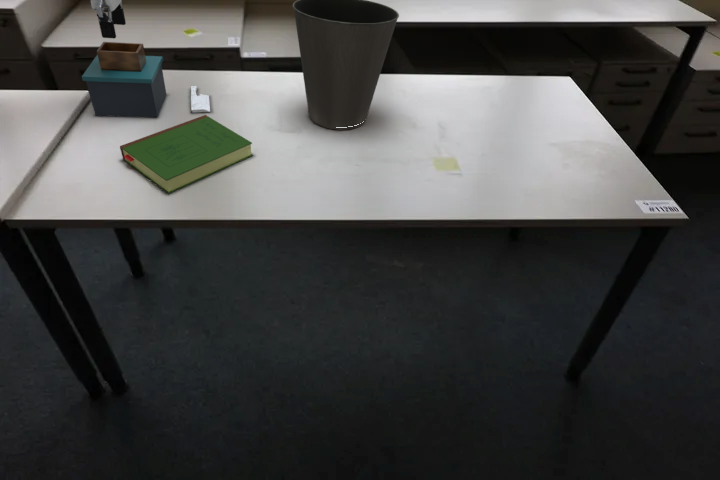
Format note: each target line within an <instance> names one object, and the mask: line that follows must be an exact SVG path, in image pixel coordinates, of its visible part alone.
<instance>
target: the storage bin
mask: <svg viewBox="0 0 720 480" xmlns="http://www.w3.org/2000/svg"><path fill="white" fill-rule="evenodd" d="M145 57H146V64H145V65H144V67H143V69H142V71H141V72H135V71H111V70H101V67H100V63H99V59H98V55H97V54H96V55H95V57H94V58H93V59H92V61H91V62H90V64H89V66H88V67H87V69H86V70H85V71H84V73H83V74H82V75H81V79H82V82H85V83H86V87H87V90H88V95H89V98H90V102H91V105H92V108H93V109H92V110H93V113H94V116H96V117H121V118H122V117H126V118H127V117H128V118H154V119H155V118H158V117H159V115H160V111H161V109H162V107H163V104H164V102H165V100H166V97H167V89H166V83H165V77H164V71H163V66H162V64H163V62H164V58H163V56H162V55H161V56H160V55H157V56H156V55H145Z"/></svg>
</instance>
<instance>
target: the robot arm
mask: <svg viewBox="0 0 720 480" xmlns="http://www.w3.org/2000/svg"><path fill="white" fill-rule="evenodd" d="M90 6H91V9H92V10H93V11H95V12H96V16H97V21H98V25H99V29H100V34H101V38H103V39H116V38H117V33H116V28H115V25H117V26H125V25H127V24H126V23H127V22H126V17H125V12H124V8H123V6H124V5H123V2H122V0H90Z"/></svg>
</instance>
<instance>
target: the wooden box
mask: <svg viewBox="0 0 720 480" xmlns="http://www.w3.org/2000/svg"><path fill="white" fill-rule="evenodd" d="M97 55H98V59H99V63H100V67H101V70H111V71H135V72H141V71H142V69H143V67H144V65H145V64H146V57H145V56H146V52H145V47H144V43H140V42H139V43H135V42H117V41H116V42H115V41H103V42H102V43H101V44H100V45H99V47H98V48H97V50H96V56H97Z"/></svg>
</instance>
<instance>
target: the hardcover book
mask: <svg viewBox="0 0 720 480" xmlns="http://www.w3.org/2000/svg"><path fill="white" fill-rule="evenodd" d="M252 144H253V143H252V141H250V140H248V139H247V138H245V137H243V136H241V135H240V134H239V133H237V132H235V131H233V130H231V129H230V128H228V127H226V126H225V125H223V124H222V123H220V122H218V121H217V120H215V119H214V118H212V117H210V116H208V115H207V114H203V115H201V116H198V117H195V118H193V119H190V120H188V121H185V122H182V123H179V124H176V125H174V126H172V127H169V128H166V129H163V130H160V131H156V132H154V133H152V134H150V135H146V136H144V137H141V138H139V139H135V140H132V141H129V142H127V143H125V144H122V145H119V149H120V152H121V157H122V160H123V161H124V162H125V163H127V164H128V165H129V166H131V167H132V168H133V169H135V170H136V171H138V172H139V173H140V174H142V176H144V177H146V178H147V179H148V180H150V181H151V182H152V183H153V184H155V185H156V186H157V187H159V188H160V189H162V190H163V191H164V192H166V193H167V194H172V193H173V192H175V191H178V190H180V189H182V188H184V187H187V186H189V185H191V184H193V183H196V182H198V181H200V180H202V179H204V178H207V177H209V176H212V175H213V174H216V173H218V172H220V171H223V170H225V169H226V168H229V167H231V166H233V165H236V164H237V163H238V164H239V163H240V162H242V161H244V160H247V159H249V158H251V157H253V156H254V155H253V154H252Z"/></svg>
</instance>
